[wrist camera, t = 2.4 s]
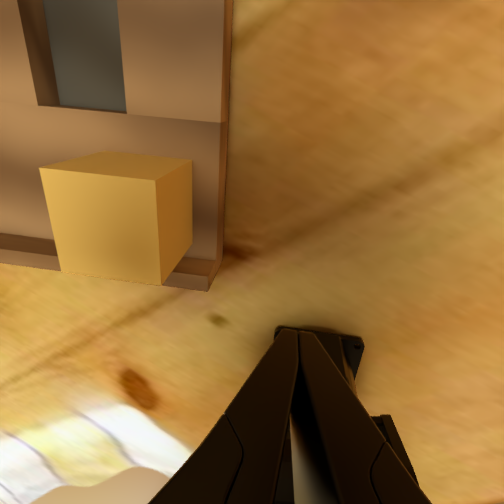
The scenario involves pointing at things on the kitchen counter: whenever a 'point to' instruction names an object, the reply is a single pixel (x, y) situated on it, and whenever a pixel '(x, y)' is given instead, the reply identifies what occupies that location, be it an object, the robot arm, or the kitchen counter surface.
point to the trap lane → (113, 109)
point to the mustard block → (120, 214)
